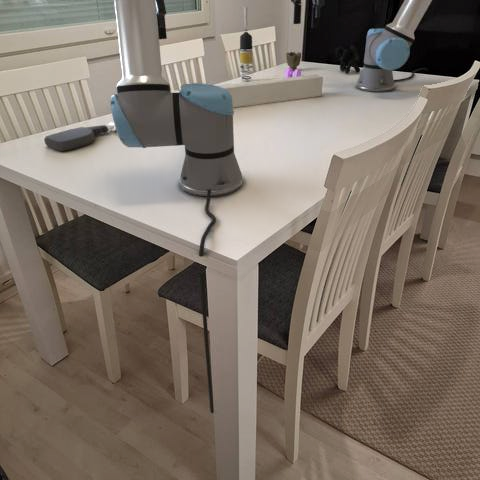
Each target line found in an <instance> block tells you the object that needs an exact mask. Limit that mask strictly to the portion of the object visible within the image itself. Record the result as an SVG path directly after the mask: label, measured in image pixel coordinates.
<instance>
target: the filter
mask: <svg viewBox="0 0 480 480" xmlns="http://www.w3.org/2000/svg"><path fill="white" fill-rule="evenodd" d="M248 9H249V7H248V6H243V14H244V15H243V16H244V22H243V23H244V24H243V25H244V28H245V29H248ZM239 50H240V51H239V56H240V59H239V61H240V65H241V66H240V68H241V69H244V66H245V67H248V69H251V68H253V65H252V64H253V35H251V34H250V33H249V32H248V31H244V32H243V33H242V34H241V35H240V36H239ZM248 65H249V66H248ZM239 74H240V75H244V76H241V79H243V80H244V81H245V82H249V80H252V77H251V76H250V75H252V74H253V70H240V71H239Z"/></svg>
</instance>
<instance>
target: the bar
mask: <svg viewBox="0 0 480 480" xmlns="http://www.w3.org/2000/svg"><path fill="white" fill-rule="evenodd" d="M323 79H324V76H322V75H319V74H306V75H301V76H297V77H294V76H293V77H288V78H285V77H280V78H271V79H263V80H262V79H261V80H254V81H245V82H238V83H237V82H236V83H228V84H219V85H217V86H219V87H222V88H224V89H226V90H227V91H229V93H230V94H231V96H232V103H233V109H234V108H241V107H249V106H255V105H263V104H271V103H279V102H286V101H293V100H294V101H295V100H301V99H310V98H316V97H322V93H323V81H324V80H323ZM170 92H171V93H177V92H179V89H175V90H170Z"/></svg>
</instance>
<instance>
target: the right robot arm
mask: <svg viewBox="0 0 480 480" xmlns="http://www.w3.org/2000/svg"><path fill="white" fill-rule="evenodd" d="M311 1H312V4H313V5H312V10H311V25H310V28H311V29H316V28H318V29H319V28H320V19H321V18H320V17H321V8H322V7H323V6H325V5H326V1H325V0H311ZM432 1H433V0H403V2H402V4H401V6H400V7H399V10H398V11H397V13H396V15H395V17H394V19H393V21H392V22H389V23H388V24H386V25H385V27H384V28H370V29H369V30H368V31H367V34H366V40H365V41H366V42H365V49H364V57H363V67H362V70H361V71H360V74H359V77H358V78H357V81H356V89H358V90H361V91H365V92H372V93H373V92H375V93H383V92H389V91H393V90H394V88H395V83H396V82H402V81H407V80H410V79H411V78H413V77H414V76H415V73H417V72H419V71H425V72H429V70H428V69H427V67H426V68H425V67H421V68H418V69H415V70H413V71H411V75H410V76H408V77H405V78H399V79H394V74H393V71H394V70H397V69H400V68H401V67H402V66H404V65H405V64H406V62H407V61H408V59H409V57H410V54H411V50H410V49H411V46H412V45H413V43H414V41H415V31H416V29H417V27H418V25H419V24H420V22H421V20H422V18H423V17H424V15H425V13H427V11H428V8H429V6H430V5H431V3H432ZM290 2H291V3H292V4H293V20H292V21H293V22H292V24H293V25H300V24H301V21H302V3H303V2H302V0H290Z"/></svg>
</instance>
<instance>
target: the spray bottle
mask: <svg viewBox="0 0 480 480" xmlns="http://www.w3.org/2000/svg"><path fill="white" fill-rule="evenodd" d="M109 131H112V132H115V131H117V130H116V127H115V124H114V122H112V121H109V123H106V124H100V125H93V126H86V127H84V126H80V127H75V128H71V129H67V130H62V131H59V132H55V133H53V134H48V135H46V136H45V137H44V144H45V146H46V147H48V148H51V149H53V150H56V151H58V152H67V151H71V150H74V149H77V148H80V147H84V146H88V145H89V144H92V143H93V141H94V139H95V136H98V135H102V134H105V133H106V134H107V133H108V132H109Z"/></svg>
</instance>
